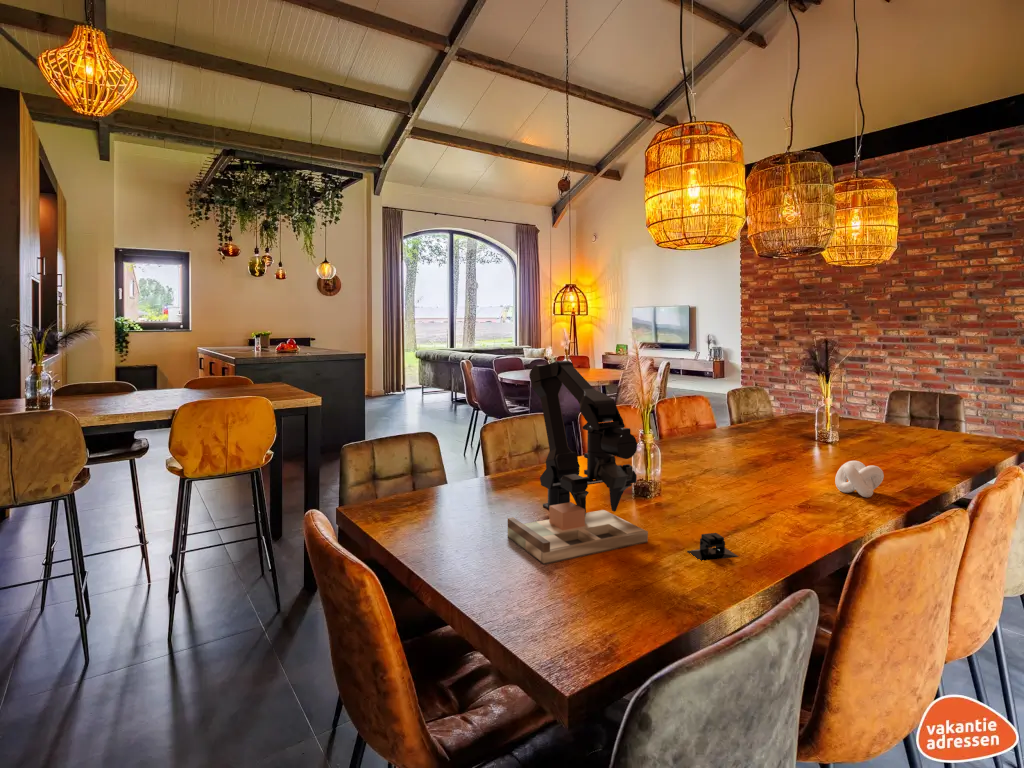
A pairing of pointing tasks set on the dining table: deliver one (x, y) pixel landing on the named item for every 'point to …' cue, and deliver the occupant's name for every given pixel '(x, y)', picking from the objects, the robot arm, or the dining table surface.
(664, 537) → the dining table surface
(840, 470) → the white knot sculpture
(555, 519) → the terracotta block
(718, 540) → the black boxy piece
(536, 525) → the trap board
